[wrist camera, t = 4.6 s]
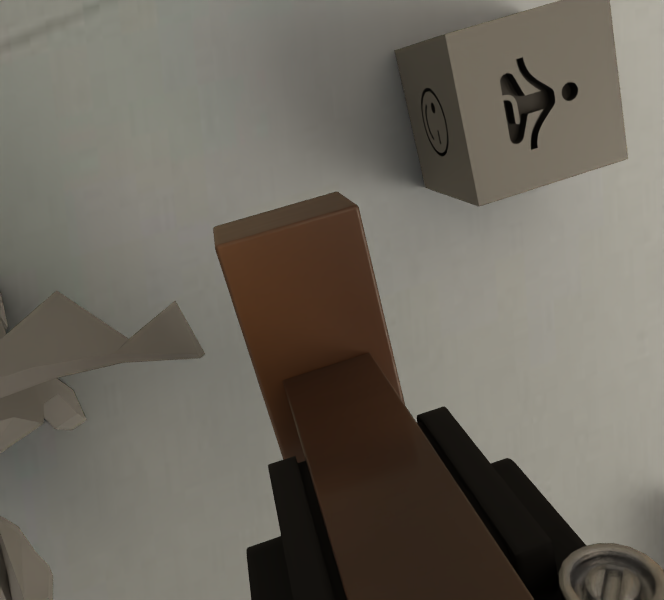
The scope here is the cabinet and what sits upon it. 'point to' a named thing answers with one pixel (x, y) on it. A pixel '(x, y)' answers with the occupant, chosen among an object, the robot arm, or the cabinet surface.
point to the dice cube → (516, 101)
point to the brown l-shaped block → (352, 408)
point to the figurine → (63, 396)
